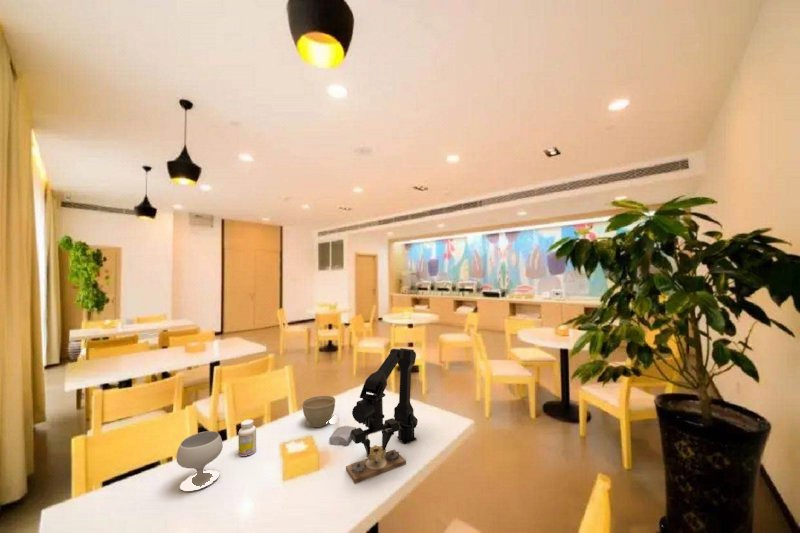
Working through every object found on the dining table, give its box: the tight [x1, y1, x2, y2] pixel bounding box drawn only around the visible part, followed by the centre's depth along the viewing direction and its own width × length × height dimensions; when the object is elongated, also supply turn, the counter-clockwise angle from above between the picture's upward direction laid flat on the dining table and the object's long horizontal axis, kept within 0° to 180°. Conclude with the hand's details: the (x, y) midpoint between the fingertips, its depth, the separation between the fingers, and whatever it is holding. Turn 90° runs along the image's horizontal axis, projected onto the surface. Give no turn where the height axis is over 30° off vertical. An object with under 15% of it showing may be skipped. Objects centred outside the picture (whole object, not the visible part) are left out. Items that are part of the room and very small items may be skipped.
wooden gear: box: [365, 444, 387, 462], centre depth 115 cm, size 7×7×2 cm
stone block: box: [328, 425, 357, 447], centre depth 137 cm, size 12×5×10 cm
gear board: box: [345, 449, 407, 485], centre depth 115 cm, size 21×9×6 cm, turn 120°
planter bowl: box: [301, 395, 336, 428], centre depth 152 cm, size 16×16×11 cm
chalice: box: [176, 430, 223, 487], centre depth 110 cm, size 14×14×15 cm
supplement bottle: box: [237, 419, 257, 457], centre depth 127 cm, size 7×7×13 cm
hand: (376, 452), depth 115 cm, fingers closed on wooden gear, 6 cm apart
